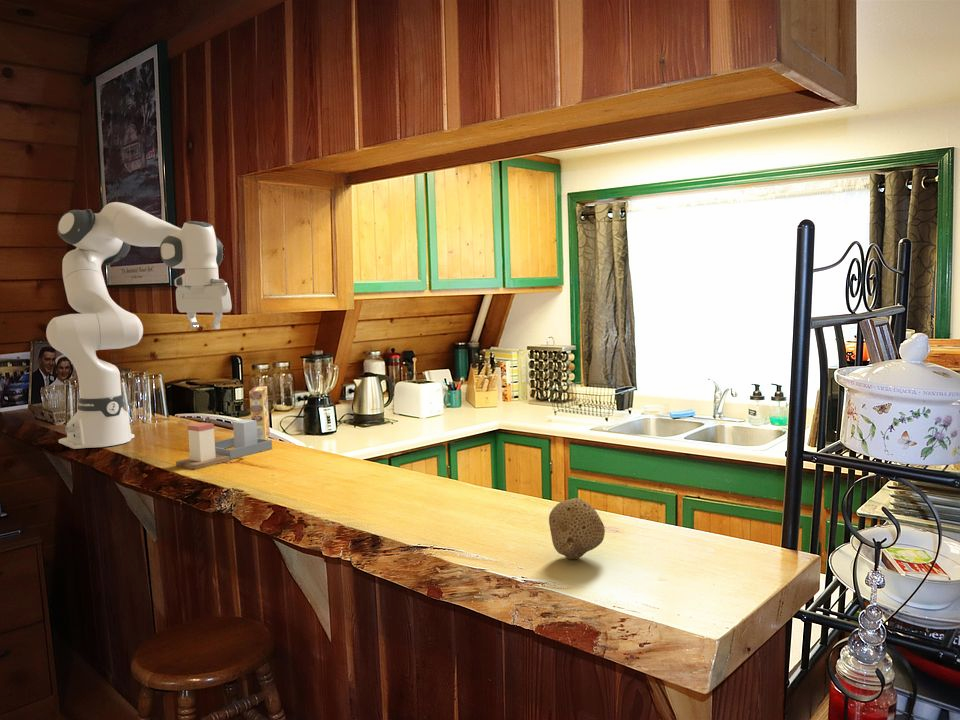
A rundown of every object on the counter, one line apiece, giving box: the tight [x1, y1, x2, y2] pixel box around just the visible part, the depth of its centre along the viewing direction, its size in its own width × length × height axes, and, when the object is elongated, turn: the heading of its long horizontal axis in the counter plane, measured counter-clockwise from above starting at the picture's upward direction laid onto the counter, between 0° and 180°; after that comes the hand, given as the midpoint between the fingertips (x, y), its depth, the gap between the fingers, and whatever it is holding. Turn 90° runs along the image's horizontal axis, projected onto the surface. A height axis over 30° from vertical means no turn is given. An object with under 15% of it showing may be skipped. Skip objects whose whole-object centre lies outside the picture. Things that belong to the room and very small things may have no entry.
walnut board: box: [175, 454, 231, 470], centre depth 201 cm, size 8×10×1 cm
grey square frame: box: [215, 437, 273, 460], centre depth 214 cm, size 13×14×2 cm
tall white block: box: [232, 419, 258, 448], centre depth 217 cm, size 4×4×8 cm
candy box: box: [248, 386, 271, 440], centre depth 231 cm, size 9×4×15 cm, turn 8°
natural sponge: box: [548, 497, 606, 560], centre depth 126 cm, size 9×9×10 cm
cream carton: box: [187, 422, 216, 462], centre depth 200 cm, size 5×5×9 cm
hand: (205, 328), depth 218 cm, fingers open, 8 cm apart
